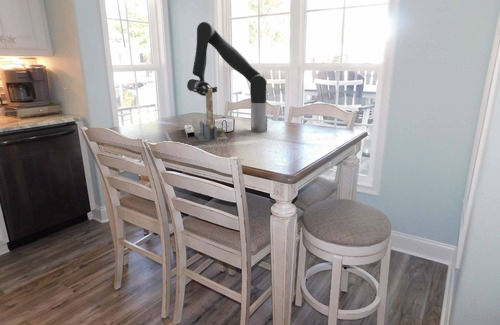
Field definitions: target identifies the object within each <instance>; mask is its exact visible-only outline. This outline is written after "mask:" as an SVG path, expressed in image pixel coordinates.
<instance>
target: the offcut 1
mask: <svg viewBox="0 0 500 325" xmlns="http://www.w3.org/2000/svg"><path fill="white" fill-rule="evenodd" d="M214 125H215V126H216V129H217V131H220V130H224V127H223V126H222V125H220V123H219V124H214Z"/></svg>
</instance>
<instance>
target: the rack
mask: <svg viewBox="0 0 500 325" xmlns="http://www.w3.org/2000/svg"><path fill="white" fill-rule="evenodd" d="M215 125H216V124H214V123H213V128H212V129H209V126H207V119H206V121H205V122H204V121H202V120H200V121H199V132H195V135H194V136H196V137H197V138H198V139H199V140H200V141H201V142H207V141H208V142H211V141H221V140H229V139H230V138H229V137H228V136H227V135H225V134H224V136H217V129H216V126H215Z"/></svg>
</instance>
